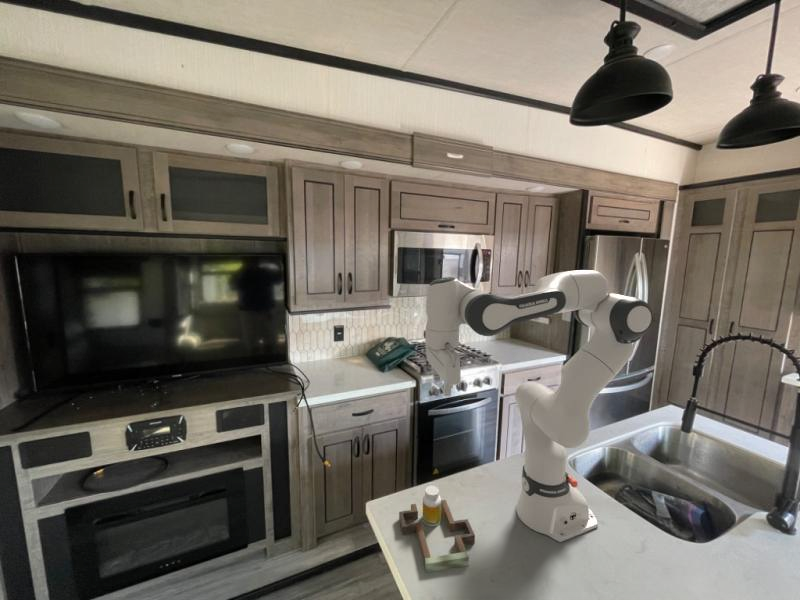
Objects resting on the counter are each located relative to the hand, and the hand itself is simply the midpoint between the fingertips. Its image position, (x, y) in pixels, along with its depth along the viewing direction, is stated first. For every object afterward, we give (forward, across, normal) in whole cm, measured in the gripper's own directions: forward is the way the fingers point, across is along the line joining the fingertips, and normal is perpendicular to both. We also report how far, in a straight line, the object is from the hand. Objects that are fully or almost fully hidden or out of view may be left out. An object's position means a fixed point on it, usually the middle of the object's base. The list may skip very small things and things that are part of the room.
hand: (441, 387), depth 90 cm
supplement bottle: (+42, +2, +2) cm, 42 cm away
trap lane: (+42, -4, +2) cm, 42 cm away
